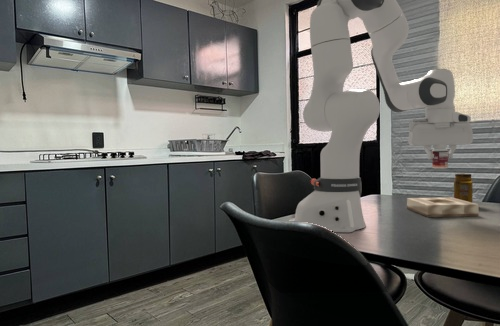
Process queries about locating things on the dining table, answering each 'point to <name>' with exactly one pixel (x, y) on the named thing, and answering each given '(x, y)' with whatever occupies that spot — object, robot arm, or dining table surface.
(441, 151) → the pill bottle
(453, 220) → the dining table surface
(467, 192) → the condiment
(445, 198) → the well block
